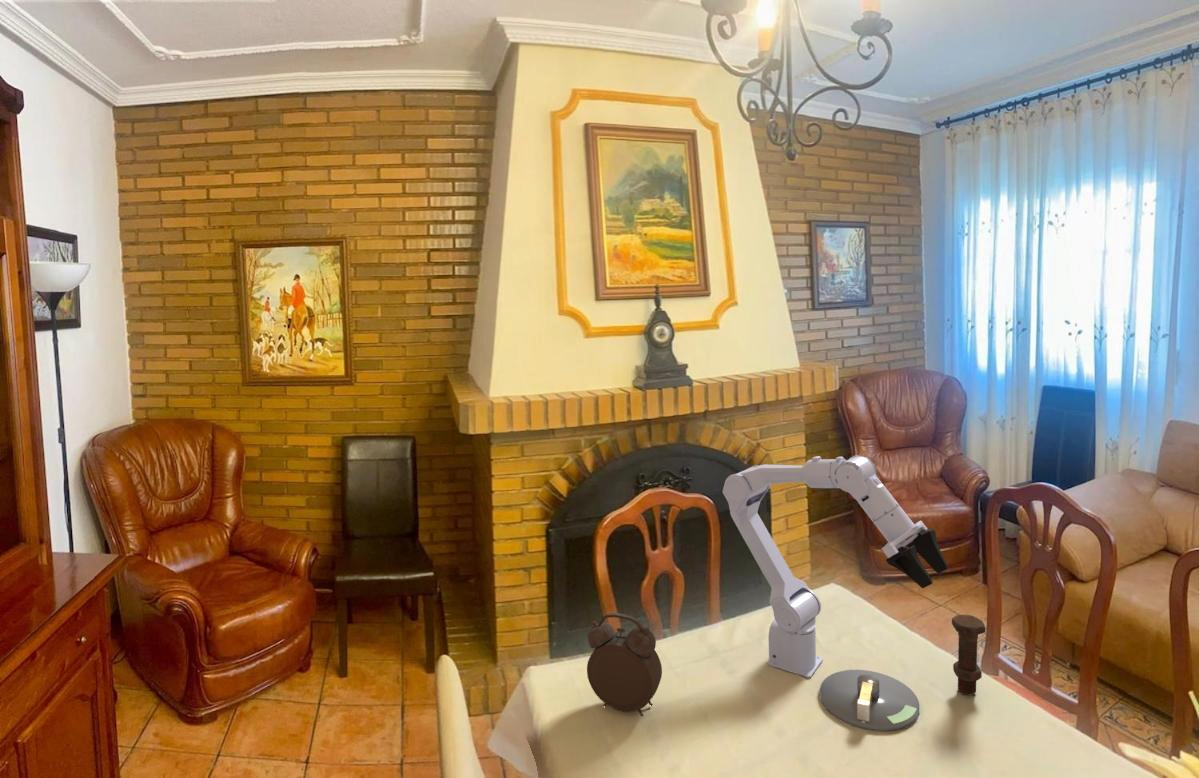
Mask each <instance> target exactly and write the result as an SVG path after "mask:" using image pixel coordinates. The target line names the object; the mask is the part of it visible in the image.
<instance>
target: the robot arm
mask: <svg viewBox="0 0 1199 778" xmlns="http://www.w3.org/2000/svg"><path fill="white" fill-rule="evenodd" d="M724 481H725V482H724V485H723V489H722V490H721V491H722V494H723V496H724V497H725V499H726V502H727V503H728V509H729V514H730V516H731V518H732V519H731V520H733V523H735V526H736V527H737V530H738V531H739V533H740V535H741V536H742V538H743V541H745V544H746V545H747V547H748V549H749V551H750V552H751V554H752V556H753V557H754V560H755V562H756V563H757V565H758V566H759V569H760V571H761V572H762V574H763V575H764V577H765V579H766V581H767V583H768V585H769V586H770V588H771V592H770V597H769V604H770V606H771V609H772V610H773V617H774V619H773V620H772V622H771V623H770V626H769V631H768V661H767V665H768V666H771V667H774V668H776V669H777V668H778V669H780V670H783V671H787V672H790V673H793V674H796V675H798V676H802V677H806V678H808V679H809V678H811V677H812V676H813V674H814V673H815V672H816V671H817V669H818V668H819V667H820V665H821V664H822V662H823V661H824V659H823V657H820V656H817V647H816V646H817V644H816V638H817V637H816V634H817V633H816V632H817V631H816V617H818V616H819V614H820V612H821V611H822V604H821V603H822V602H821V601H820V599H819V597H818V596H817V594H816V593H815V592H813V590H811V589H810V588H809V587H808V585H807V584H806V581H804V580H801V579H800V578H797V577H795V576H794V574H793V572H792V571H791V569H790V567H789V566H788V563H787V562H786V560H785V558H784V556H783V555H782V553H781V552H780V550H779V547H778V546H777V545H776V543H775V541H774V539H773V538H772V535H771V534H770V533H769V531H768V529H767V527H766V526H765V523H764V522H763V520H762V519H761V517H760V515H759V513H758V511H759V507H760V504H761V501H762V500H763V498H764V497H765V495H766V493H768V491H769V490H770V487H771V485H773V484H782V483H783V484H786V483H805V485H806V486H808V487H809V488H810V489H840V490H842V491H843V492H846V493H849V494H850V495H851V496H852V498H853V499H855V500H856V501H857V503H858V505H860V508H862V509H863V511H864V512H865V514H866V515H867V516H868V517H869V519H870V520H871V521H872V522H873V524H874V526H875V527H876V528H877V530H878V531H879V532H880V534H881V535H882V536H883V537H884V539H885V540H886V541H887V543H886V544H885V545H884V546H883V547H882V548H881V551H882V552H883V553H884V554H885V556H886V557H887V559H885V562H886V563H887V565H889V566H892V567H894V568H895V569H896V570H899V571H901V572H902V573H903V574H905V575H906V576H907V577H908V578H910V579H911V580H912V581H913V582H914V583H916V584H917V586H919V587H921V589H925V588H927V587H928V586H931V585H932V584H933V583H934V582H933V579H932V577H931V575H930V574H929V572H928V571H927V569H926V568H925V567H924V565H923V563H922V561H921V559H920V557H921V558H922V559H923V560H924V561H925V562H926V563H927V564H928V565H929V566H930V568H932V570H933V571H934V572H936V573H937V574H940V573H942V572H944V571H947V570H948V569H949V565H948V563H947V562H946V559H945V557H944V556H943V553H942V551H941V549H940V546H939V542H938V539H937V534H936V531H935V530H934V528H929V529H928V527H927V526H926V525H925V524H924V522H923V521H922V520H919V521H917V522H915V523H914V522H913V521H912V519H911V518H910V517H909V516H908V515H907V513H906V511H904V509H903V507H901V506H900V504H899V503H898V501H897V500H896V499H895V498H894V496H893V495H892V494H891V493H890V491H889V490H888V488H886V486H885V485H884V483H882V481H881V480H880V479H879V477H878V476H877V468H876V465H875V464H874V462H873V461H872V460H871V459H870V458H868V457H866V456H863V455H859V454H856V455H853V456H851V457H850V458H849V459H847V460H846V458H844V457H843V456H838V457H836V458H830V459H829V458H827V459H826V458H823V459H822V456H819V455H817V456H815V455H814V457H812V458H811V459H808V460H807V461H806V462H805V463H804V465H793V464H792V465H789V464H787V465H786V464H767V463H765V464H760V465H752V466H750V467H748V468H746V469H745V470H742V471H740V472H737V473H733V474H730V475H729V476H728V477H726V478H725V480H724ZM906 546H907V547H906ZM919 556H920V557H919Z"/></svg>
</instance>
